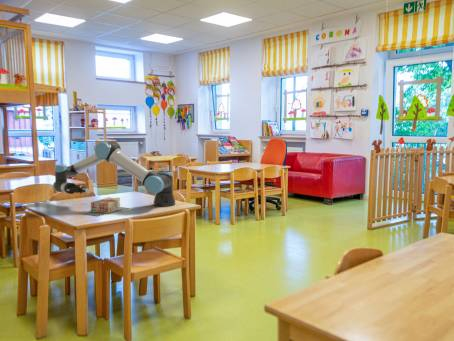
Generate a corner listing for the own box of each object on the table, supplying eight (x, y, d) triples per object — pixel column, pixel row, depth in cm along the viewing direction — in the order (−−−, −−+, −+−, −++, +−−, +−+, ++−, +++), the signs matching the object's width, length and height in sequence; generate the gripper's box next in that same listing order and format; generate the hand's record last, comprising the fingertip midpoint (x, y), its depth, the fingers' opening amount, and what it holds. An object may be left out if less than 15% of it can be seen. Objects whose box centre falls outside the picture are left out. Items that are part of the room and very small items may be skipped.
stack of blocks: (107, 197, 281) (124, 198, 278) (107, 206, 281) (124, 207, 279) (90, 202, 260) (108, 203, 257) (90, 212, 260) (108, 213, 258)
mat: (129, 208, 275) (129, 208, 275) (97, 216, 251) (97, 215, 251) (115, 206, 281) (115, 206, 281) (82, 213, 257) (82, 213, 257)
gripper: (77, 192, 293) (97, 195, 278) (60, 194, 282) (80, 198, 268) (77, 181, 292) (97, 184, 278) (60, 183, 282) (80, 186, 267)
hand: (89, 191), depth 273 cm, fingers closed
